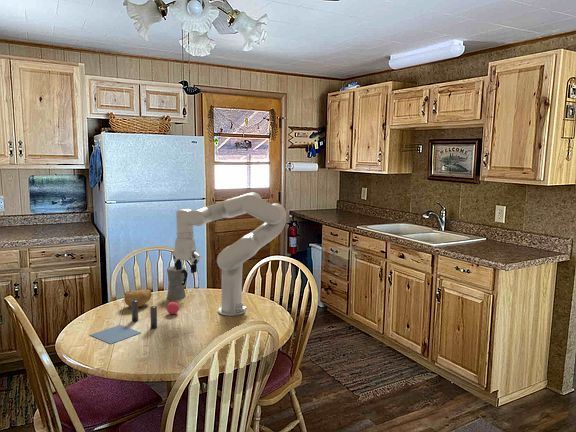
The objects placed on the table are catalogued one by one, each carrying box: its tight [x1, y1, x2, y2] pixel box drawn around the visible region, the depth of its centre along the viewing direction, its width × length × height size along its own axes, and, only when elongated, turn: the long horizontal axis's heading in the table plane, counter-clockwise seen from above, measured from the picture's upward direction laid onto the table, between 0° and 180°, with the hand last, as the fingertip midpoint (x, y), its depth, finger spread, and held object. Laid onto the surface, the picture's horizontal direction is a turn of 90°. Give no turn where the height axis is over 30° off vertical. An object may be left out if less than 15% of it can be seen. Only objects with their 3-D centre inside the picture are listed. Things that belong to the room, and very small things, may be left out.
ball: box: [166, 301, 180, 315], centre depth 205 cm, size 6×6×6 cm
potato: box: [123, 288, 152, 308], centre depth 214 cm, size 10×14×8 cm
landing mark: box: [89, 324, 142, 345], centre depth 180 cm, size 14×14×1 cm
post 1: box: [131, 300, 139, 323], centre depth 195 cm, size 3×3×9 cm
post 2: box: [149, 305, 158, 330], centre depth 188 cm, size 3×3×9 cm
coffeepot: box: [166, 262, 188, 300], centre depth 228 cm, size 15×9×18 cm, turn 51°
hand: (186, 271), depth 210 cm, fingers open, 9 cm apart
